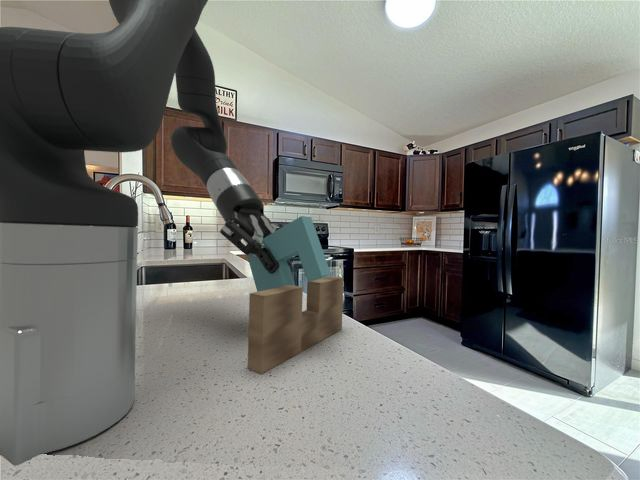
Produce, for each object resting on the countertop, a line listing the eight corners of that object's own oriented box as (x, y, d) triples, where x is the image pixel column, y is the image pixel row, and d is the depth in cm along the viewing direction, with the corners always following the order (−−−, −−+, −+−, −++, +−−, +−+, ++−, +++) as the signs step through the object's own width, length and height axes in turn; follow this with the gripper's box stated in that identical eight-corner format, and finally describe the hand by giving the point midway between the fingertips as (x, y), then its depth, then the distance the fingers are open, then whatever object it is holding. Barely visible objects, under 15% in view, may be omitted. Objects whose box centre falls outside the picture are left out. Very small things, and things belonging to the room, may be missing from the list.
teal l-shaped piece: (260, 301, 46) (245, 249, 48) (270, 298, 48) (255, 248, 50) (321, 276, 39) (301, 216, 41) (331, 274, 41) (310, 217, 43)
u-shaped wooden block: (261, 374, 33) (263, 296, 33) (247, 367, 34) (249, 293, 34) (341, 329, 50) (343, 277, 49) (330, 326, 51) (331, 276, 51)
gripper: (210, 175, 44) (262, 257, 37) (271, 188, 55) (319, 252, 49) (191, 209, 47) (236, 289, 40) (252, 214, 58) (295, 278, 52)
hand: (281, 269), depth 45 cm, fingers closed on teal l-shaped piece, 2 cm apart
